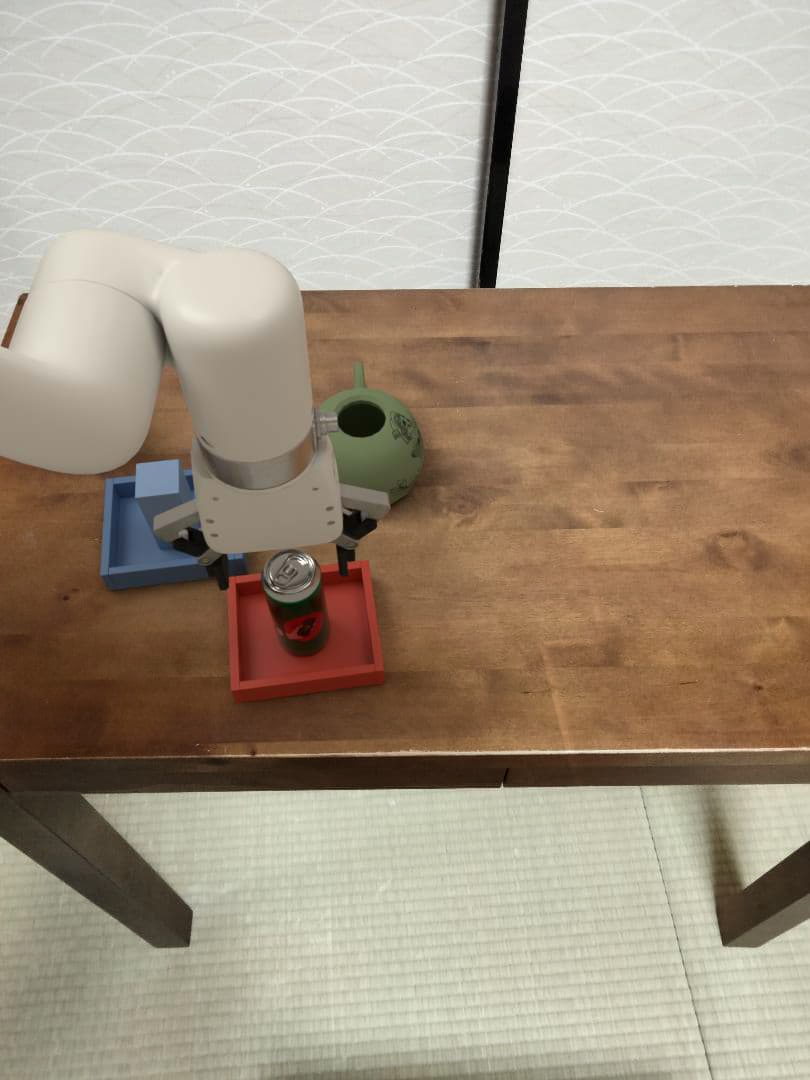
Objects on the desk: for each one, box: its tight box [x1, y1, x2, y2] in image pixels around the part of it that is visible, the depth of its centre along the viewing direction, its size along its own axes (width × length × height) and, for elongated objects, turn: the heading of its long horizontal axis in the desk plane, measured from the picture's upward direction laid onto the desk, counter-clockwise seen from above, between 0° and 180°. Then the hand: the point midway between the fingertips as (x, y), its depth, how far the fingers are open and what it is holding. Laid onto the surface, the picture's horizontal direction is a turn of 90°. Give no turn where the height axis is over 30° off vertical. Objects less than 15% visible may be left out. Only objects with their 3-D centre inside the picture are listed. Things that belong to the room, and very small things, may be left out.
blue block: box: [135, 458, 199, 549], centre depth 80 cm, size 4×4×9 cm
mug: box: [318, 361, 426, 509], centre depth 85 cm, size 16×13×9 cm
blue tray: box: [99, 468, 249, 591], centre depth 83 cm, size 14×12×3 cm
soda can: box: [261, 548, 331, 655], centre depth 72 cm, size 5×5×12 cm
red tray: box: [226, 559, 386, 704], centre depth 76 cm, size 14×12×3 cm
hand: (283, 568), depth 67 cm, fingers open, 9 cm apart
